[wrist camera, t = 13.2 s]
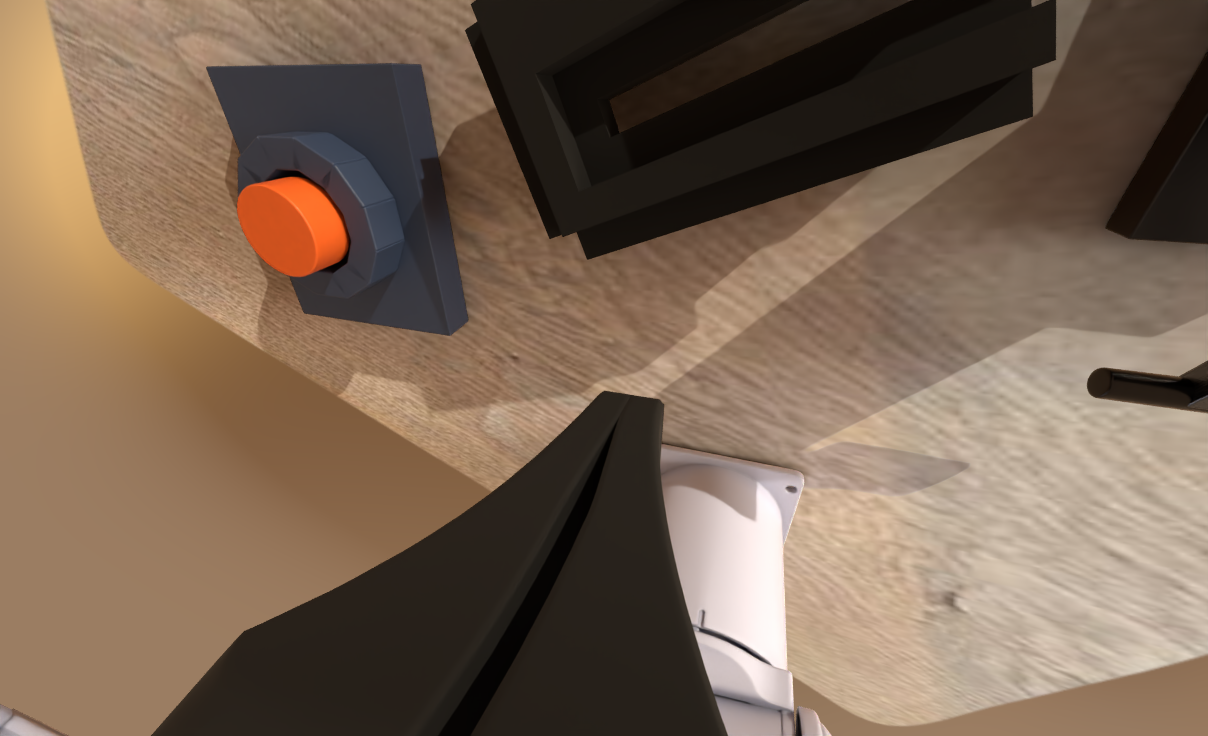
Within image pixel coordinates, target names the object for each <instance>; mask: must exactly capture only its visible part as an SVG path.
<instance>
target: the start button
mask: <svg viewBox="0 0 1208 736" xmlns="http://www.w3.org/2000/svg"><path fill="white" fill-rule="evenodd" d="M237 213H238V218H239V222H240V225H241V228H242V230H243V232H244V234H245V236H246V238H247V240H248V241H249V243H250V244H251V246H252V247H253V249H254V250H255V251H256V252H257V254H258V255H259V256H260V257H261V258H262V259H263V260H264V261H265V262H266V263H268V264H269V265H270V266H271V267H273V268H274V269H276V270H277V271H279V272H281V273H283V274H286V275H289V276H293V277H304V276H307V275H310V274H312V273H314V272H317V271H319V270H321V269H324V268H326V267H328V266H331V265H333V264H335V263H338V262H339V261H341V260H342V259H343V258H344V257H345V255H346V254H347V251H348V248H349V232H348V229H347V226H346V223H345V219H344V216H343V214H342V212H341V210H340V209H339V208H338V206H337V205H336V204H335V202H334V201H333V200H332V198H331V197H330V196H329V194H328V193H327V192H326V191H325V190H323V189H322V188H321V187H320V186H318V185H317V184H315V183H314V182H312V181H310V180H308V179H305V178H302V177H296V176H291V177H286V178H281V179H276V180H271V181H266V182H261V183H256V184H252V185H249V186H247V187H246V188H244V189H243V190H242V192H241V193H240V195H239V197H238V202H237Z"/></svg>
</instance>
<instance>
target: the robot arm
mask: <svg viewBox="0 0 1208 736" xmlns="http://www.w3.org/2000/svg"><path fill="white" fill-rule="evenodd" d="M663 415H664V404H663V403H662V402H661V401H660V400H659V399H653V398H647V397H641V396H634V395H628V394H622V393H616V392H610V391H603V392H602V393H600V394H599V395H598V396H597V397H596V398H595V399H594V400H593V401H592V402H591V404H590V405H589V406H588V407H587V408H586V409H585V410H584V411H583V412H582V413H581V414H580V415H579V416H578V417H577V418H576V419H575V420H574V421H573V422H572V423H571V424H570V425H569V426H568V427H567V428H566V429H565V430H564V431H563V432H562V433H561V434H559V435H558V436H557V437H556V438H555V439H554V440H553V441H552V442H551V443H550V444H549V445H548V446H547V447H546V448H544V449H543V450H542V451H541V452H540V453H539V454H538V455H537V456H536V457H534V458H533V459H532V460H531V461H530V462H529V463H527V464H526V465H525V466H524V467H523V468H521V469H520V470H519V471H518V472H517V473H515V474H514V475H513V476H512V477H511V478H509V479H508V480H507V481H506V482H505V483H503V484H502V485H501V486H499V487H498V488H497V489H496V490H494V491H493V492H492V493H490V494H489V495H488V496H486V497H485V498H484V499H482V500H481V501H479V502H478V503H477V504H475V505H474V506H473V507H471V508H470V509H468V510H467V511H465V512H464V513H463V514H461V515H460V516H458V517H457V518H455V519H454V520H452V521H451V522H449V523H448V524H446V525H444V526H443V527H441V528H440V529H438V530H437V531H435V532H434V533H432V534H431V535H429V536H428V537H426V538H424V539H423V540H421V541H419V542H418V543H416V544H415V545H413V546H411V547H410V548H408V549H406V550H404V551H403V552H401V553H399V554H397V555H396V556H394V557H392V558H390V559H389V560H387V561H385V562H383V563H381V564H379V565H378V566H376V567H374V568H372V569H370V570H368V571H367V572H365V573H363V574H361V575H359V576H358V577H356V578H354V579H352V580H350V581H348V582H347V583H345V584H343V585H341V586H339V587H337V588H335V589H333V590H332V591H329V592H327V593H325V594H323V595H321V596H319V597H317V598H314V599H312V600H311V601H308V602H306V603H304V604H302V605H300V606H297V607H295V608H293V609H291V610H289V611H287V612H285V613H283V614H281V615H279V616H276V617H274V618H272V619H270V620H268V621H266V622H264V623H262V624H259V625H257V626H255V627H253V628H250V629H248V630H246V631H244V632H243V633H242V634H241V635H240V636H239V637H238V638H237V639H236V640H235V641H234V642H233V644H232V645H231V646H230V647H229V648H228V649H227V650H226V651H225V652H224V653H223V655H222V656H221V657H220V658H219V659H218V660H217V661H216V663H215V664H214V665H213V666H212V667H211V668H210V669H209V670H208V672H207V673H206V674H205V675H204V676H203V677H202V678H201V680H200V681H199V682H198V683H197V684H196V685H195V686H194V687H193V689H192V690H191V691H190V692H189V693H188V694H187V696H186V697H185V698H184V699H183V700H182V701H181V702H180V703H179V705H178V706H177V707H176V708H175V709H174V710H173V711H172V713H171V714H170V715H169V716H168V717H167V718H166V719H165V720H164V721H163V723H162V724H161V725H160V726H159V727H158V728H157V729H156V731H155V732H154V733H153V734H152V735H151V736H832V735H831V734H830V733H829V732H828V730H827V729H826V728H825V726H824V725H823V724H822V723H821V722H820V721H819V717H818V715H817V714H816V712H815V711H814V710H812V709H809V708H804V707H800V706H798V708H797V714H796V734H795V724H794V706H793V684H792V673H791V672H790V671H788V670H787V649H786V621H785V593H784V565H783V546H784V543H785V540H786V537H787V534H788V531H789V528H790V525H791V522H792V519H793V516H794V513H795V510H796V507H797V504H798V501H799V498H800V495H801V492H802V489H803V486H804V476H803V474H802V473H801V472H799V471H797V470H793V469H788V468H783V467H778V466H772V465H767V464H762V463H757V462H752V461H747V460H742V459H737V458H732V457H726V456H721V455H716V454H711V453H706V452H701V451H696V450H691V449H686V448H680V447H675V446H670V445H665V444H662V430H663ZM787 486H794V487H793V488H789V487H787ZM0 736H68V735H66V734H64V733H62V732H60V731H58V730H56V729H54V728H52V727H50V726H48V725H46V724H44V723H42V722H40V721H38V720H36V719H34V718H32V717H30V716H28V715H25V714H23V713H21V712H19V711H17V710H15V709H9V708H7V707H5V706H3V705H1V704H0Z"/></svg>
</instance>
